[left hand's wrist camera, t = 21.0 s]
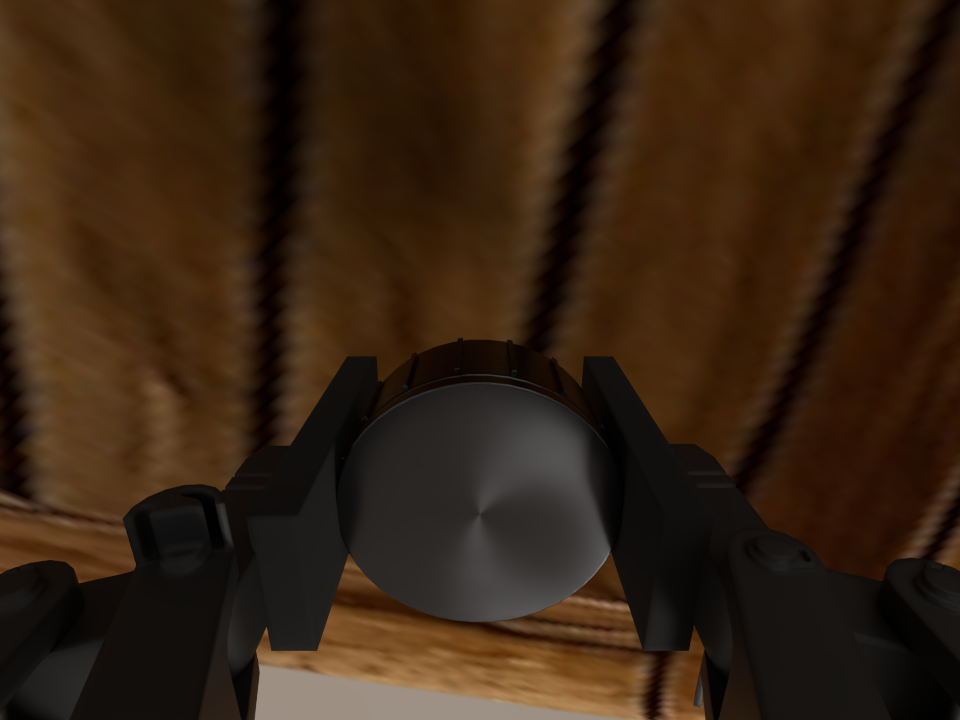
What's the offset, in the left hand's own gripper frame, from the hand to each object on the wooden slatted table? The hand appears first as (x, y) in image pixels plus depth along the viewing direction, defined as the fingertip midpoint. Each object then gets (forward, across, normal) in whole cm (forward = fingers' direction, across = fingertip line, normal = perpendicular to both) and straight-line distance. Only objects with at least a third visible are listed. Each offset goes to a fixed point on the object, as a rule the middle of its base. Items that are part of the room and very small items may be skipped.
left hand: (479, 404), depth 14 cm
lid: (-4, 0, 0) cm, 4 cm away
